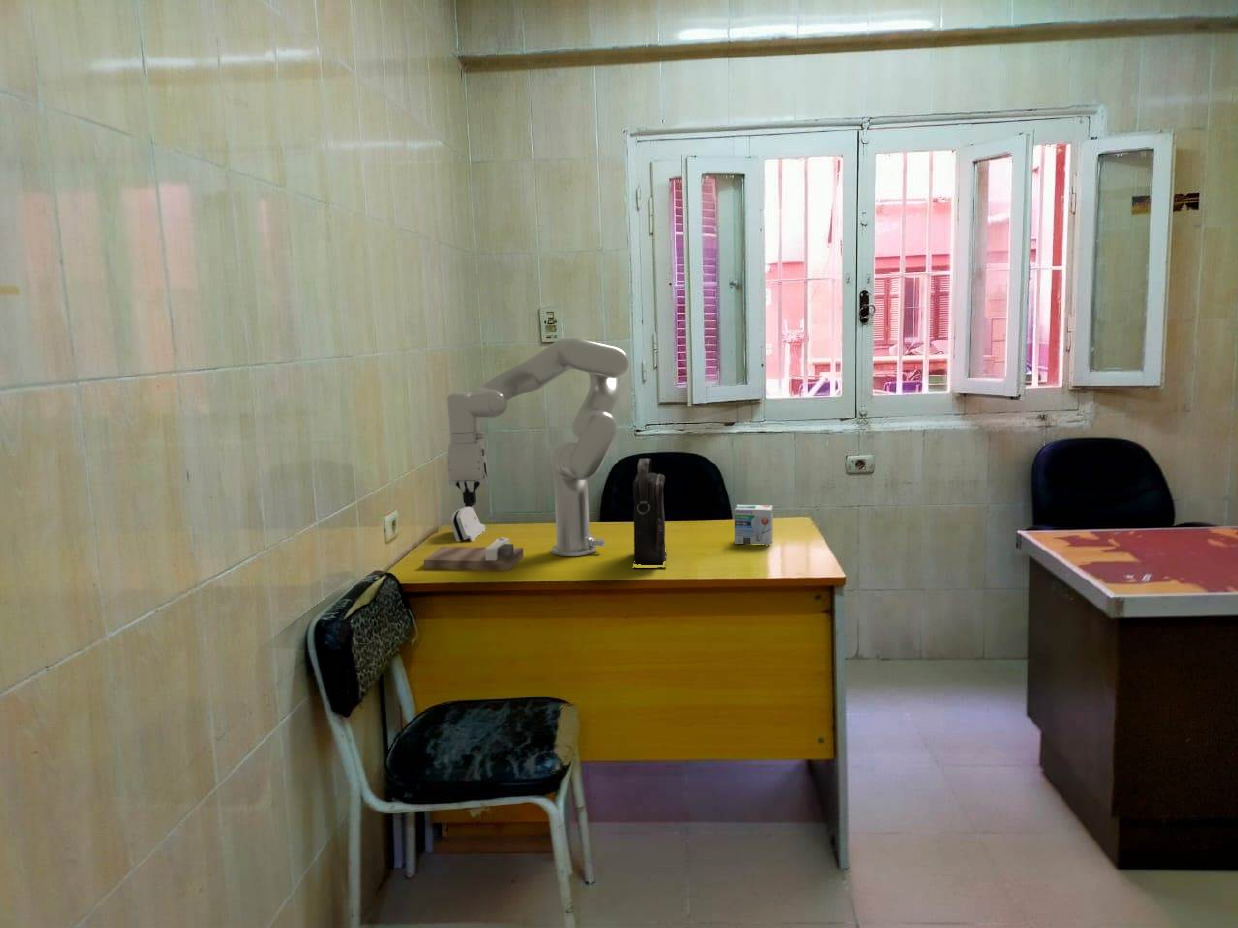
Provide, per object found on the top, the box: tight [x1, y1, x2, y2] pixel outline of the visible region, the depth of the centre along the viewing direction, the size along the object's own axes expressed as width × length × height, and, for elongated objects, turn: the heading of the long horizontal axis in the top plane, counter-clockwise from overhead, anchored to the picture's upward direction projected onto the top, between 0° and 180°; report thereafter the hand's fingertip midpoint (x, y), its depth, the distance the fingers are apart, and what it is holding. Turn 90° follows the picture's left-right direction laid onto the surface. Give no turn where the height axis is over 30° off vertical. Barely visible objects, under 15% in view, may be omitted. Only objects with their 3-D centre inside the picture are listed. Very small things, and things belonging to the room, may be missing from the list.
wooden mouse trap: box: [423, 543, 524, 571], centre depth 242 cm, size 24×14×6 cm, turn 80°
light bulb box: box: [734, 504, 774, 545], centre depth 255 cm, size 11×7×11 cm, turn 76°
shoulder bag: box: [632, 457, 668, 565], centre depth 240 cm, size 23×9×28 cm, turn 176°
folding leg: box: [485, 536, 510, 560], centre depth 240 cm, size 12×3×3 cm, turn 171°
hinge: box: [449, 506, 487, 543], centre depth 275 cm, size 17×5×10 cm, turn 174°
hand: (470, 505), depth 236 cm, fingers closed
